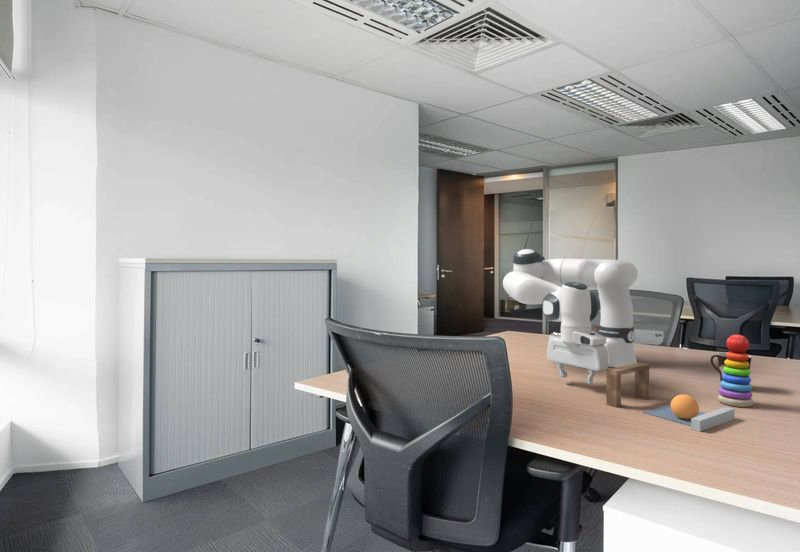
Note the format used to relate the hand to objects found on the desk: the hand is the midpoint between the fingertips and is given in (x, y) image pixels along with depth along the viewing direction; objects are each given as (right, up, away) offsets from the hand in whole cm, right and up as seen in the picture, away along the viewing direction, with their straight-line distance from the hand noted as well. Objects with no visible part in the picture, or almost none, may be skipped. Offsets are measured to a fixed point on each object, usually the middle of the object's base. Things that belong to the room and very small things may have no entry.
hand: (575, 380), depth 149 cm
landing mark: (+16, -3, -27) cm, 32 cm away
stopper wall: (+21, -3, -34) cm, 40 cm away
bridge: (+9, -3, -15) cm, 18 cm away
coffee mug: (+47, -2, -1) cm, 48 cm away
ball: (+16, 0, -30) cm, 34 cm away
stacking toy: (+37, -3, -18) cm, 41 cm away
